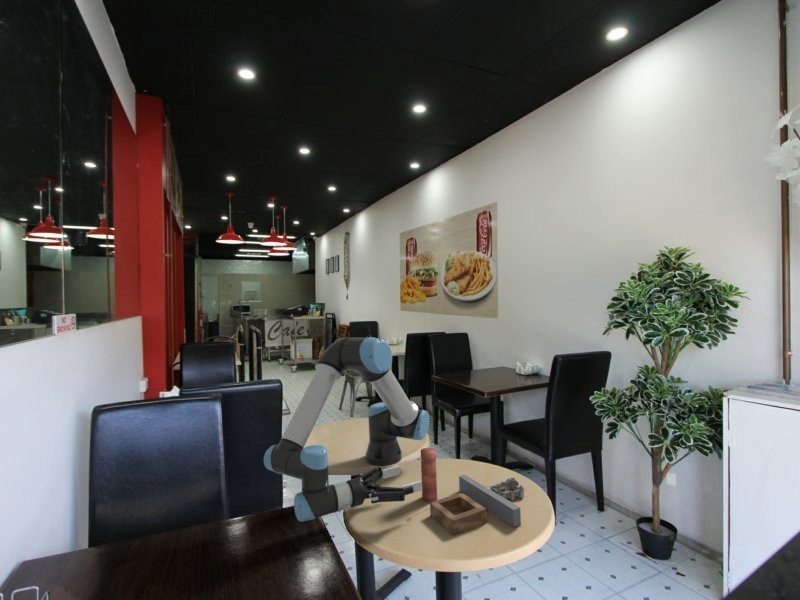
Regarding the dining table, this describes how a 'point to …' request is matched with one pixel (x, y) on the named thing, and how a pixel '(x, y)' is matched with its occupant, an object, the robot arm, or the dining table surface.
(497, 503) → the backstop wall
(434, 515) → the socket block
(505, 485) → the grey rough frame
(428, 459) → the dowel
